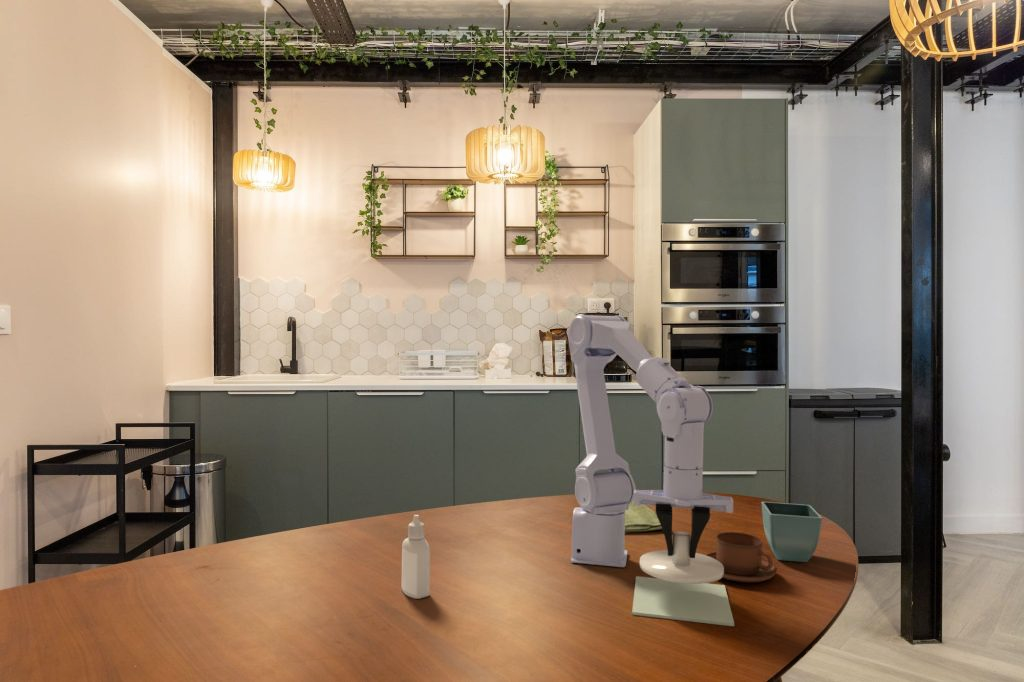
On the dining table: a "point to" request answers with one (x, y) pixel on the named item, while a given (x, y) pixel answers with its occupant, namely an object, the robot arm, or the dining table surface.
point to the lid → (681, 564)
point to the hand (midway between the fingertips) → (681, 554)
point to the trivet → (682, 601)
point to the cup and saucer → (743, 558)
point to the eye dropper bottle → (416, 562)
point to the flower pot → (791, 530)
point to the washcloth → (640, 519)
